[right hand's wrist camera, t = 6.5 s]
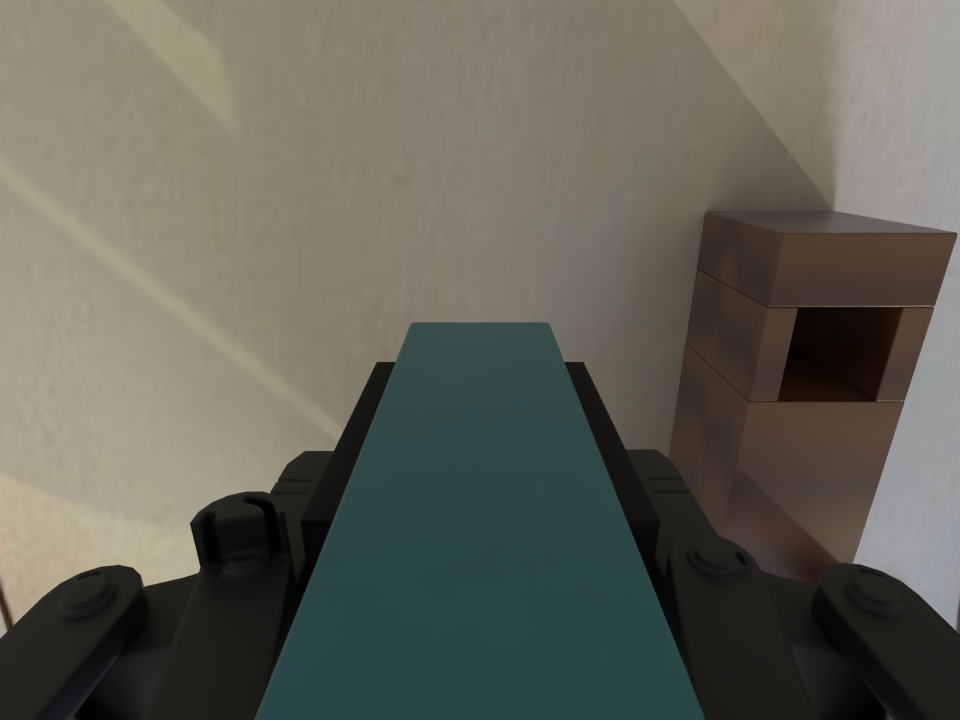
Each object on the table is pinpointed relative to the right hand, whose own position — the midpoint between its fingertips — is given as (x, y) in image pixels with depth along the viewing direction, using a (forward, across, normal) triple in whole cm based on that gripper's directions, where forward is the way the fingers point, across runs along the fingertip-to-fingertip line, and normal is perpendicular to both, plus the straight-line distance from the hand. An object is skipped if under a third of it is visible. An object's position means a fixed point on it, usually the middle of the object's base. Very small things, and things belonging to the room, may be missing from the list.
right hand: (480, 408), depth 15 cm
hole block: (+21, +18, -11) cm, 29 cm away
